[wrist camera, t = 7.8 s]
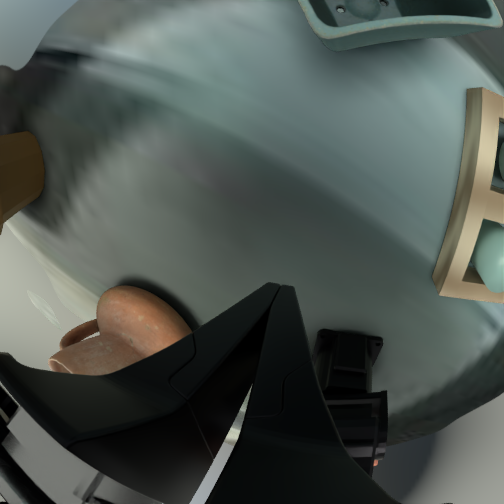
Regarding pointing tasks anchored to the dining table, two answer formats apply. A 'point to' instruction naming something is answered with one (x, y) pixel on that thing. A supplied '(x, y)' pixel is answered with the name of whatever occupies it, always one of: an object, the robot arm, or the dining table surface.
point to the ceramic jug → (119, 333)
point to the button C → (501, 161)
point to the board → (472, 200)
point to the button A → (490, 255)
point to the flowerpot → (19, 173)
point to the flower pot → (396, 20)
